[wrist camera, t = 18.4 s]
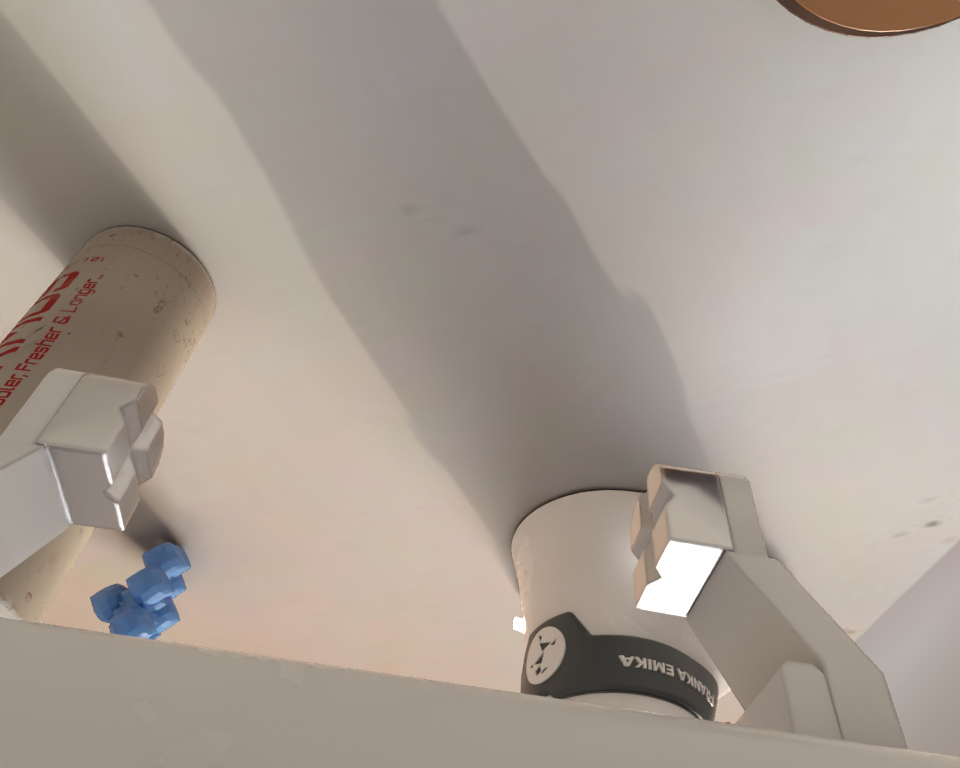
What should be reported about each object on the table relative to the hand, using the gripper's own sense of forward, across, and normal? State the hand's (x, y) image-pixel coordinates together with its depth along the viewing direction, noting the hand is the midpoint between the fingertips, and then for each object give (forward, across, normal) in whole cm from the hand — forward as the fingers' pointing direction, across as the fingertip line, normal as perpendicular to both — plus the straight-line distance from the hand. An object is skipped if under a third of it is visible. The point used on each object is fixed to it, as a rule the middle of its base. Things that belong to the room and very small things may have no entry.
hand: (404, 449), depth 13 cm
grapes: (+29, +20, +46) cm, 58 cm away
